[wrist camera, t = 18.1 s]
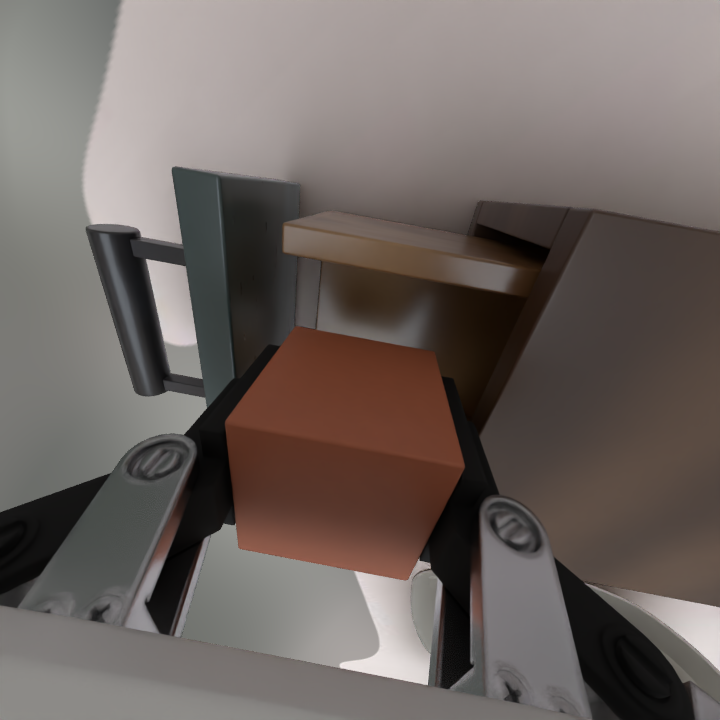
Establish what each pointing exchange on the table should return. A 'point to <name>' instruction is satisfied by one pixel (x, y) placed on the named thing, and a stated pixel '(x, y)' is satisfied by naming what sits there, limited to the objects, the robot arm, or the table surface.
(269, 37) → the table surface
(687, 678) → the laptop stand
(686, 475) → the cabinet
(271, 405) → the block
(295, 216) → the drawer
